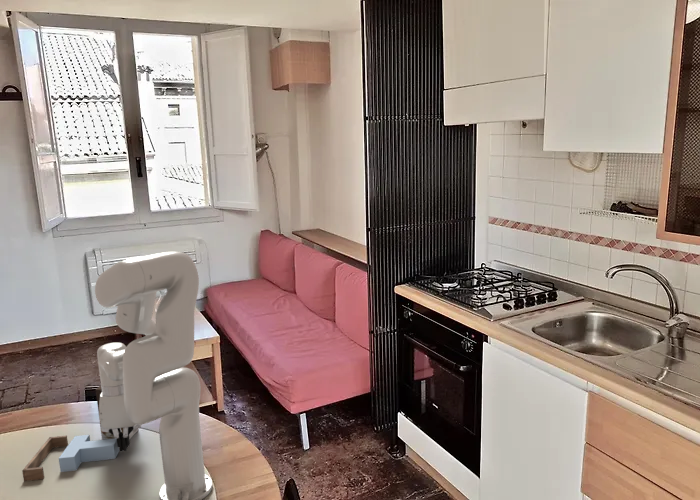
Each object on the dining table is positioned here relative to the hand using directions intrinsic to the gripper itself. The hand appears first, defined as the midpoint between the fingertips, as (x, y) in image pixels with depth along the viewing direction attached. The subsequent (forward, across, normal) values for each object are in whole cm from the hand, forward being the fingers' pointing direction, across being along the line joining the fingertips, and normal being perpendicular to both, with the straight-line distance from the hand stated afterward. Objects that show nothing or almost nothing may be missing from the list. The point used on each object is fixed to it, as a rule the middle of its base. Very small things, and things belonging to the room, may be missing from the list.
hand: (124, 448), depth 156 cm
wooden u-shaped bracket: (+2, +21, 0) cm, 21 cm away
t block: (+2, +9, 0) cm, 9 cm away
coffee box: (+2, +5, -12) cm, 13 cm away
